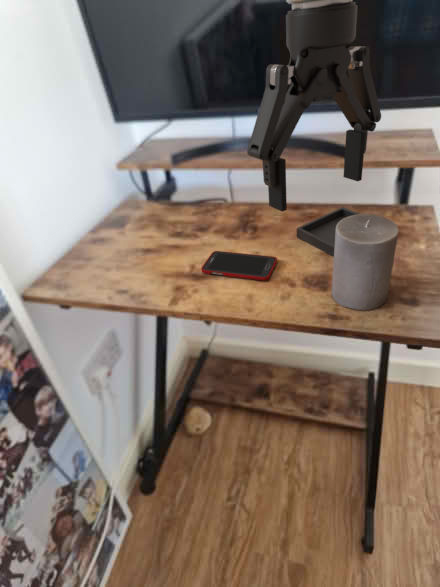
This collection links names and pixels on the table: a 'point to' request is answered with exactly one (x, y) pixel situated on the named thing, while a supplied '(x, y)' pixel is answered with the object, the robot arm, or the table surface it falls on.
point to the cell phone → (240, 265)
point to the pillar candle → (363, 260)
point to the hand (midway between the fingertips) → (316, 192)
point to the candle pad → (323, 230)
